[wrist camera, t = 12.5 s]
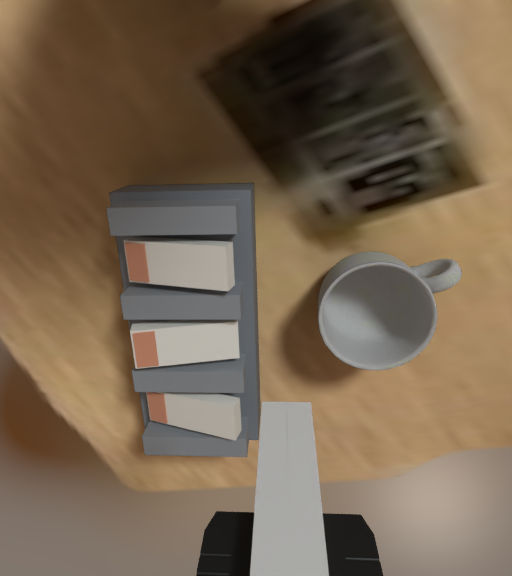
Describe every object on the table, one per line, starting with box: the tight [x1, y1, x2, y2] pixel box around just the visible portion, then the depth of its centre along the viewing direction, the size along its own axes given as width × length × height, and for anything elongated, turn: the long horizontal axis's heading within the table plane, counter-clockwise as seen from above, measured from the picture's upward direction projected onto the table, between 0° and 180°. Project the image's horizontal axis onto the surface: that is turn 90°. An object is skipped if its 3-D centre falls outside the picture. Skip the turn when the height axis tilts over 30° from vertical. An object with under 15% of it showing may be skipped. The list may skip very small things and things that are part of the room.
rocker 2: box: [130, 320, 240, 369], centre depth 40 cm, size 4×10×2 cm, turn 91°
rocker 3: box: [146, 392, 241, 441], centre depth 43 cm, size 4×10×2 cm, turn 92°
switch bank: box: [106, 183, 260, 457], centre depth 43 cm, size 28×13×8 cm, turn 2°
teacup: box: [318, 252, 462, 370], centre depth 41 cm, size 14×11×8 cm
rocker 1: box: [123, 236, 235, 291], centre depth 38 cm, size 4×10×2 cm, turn 92°
